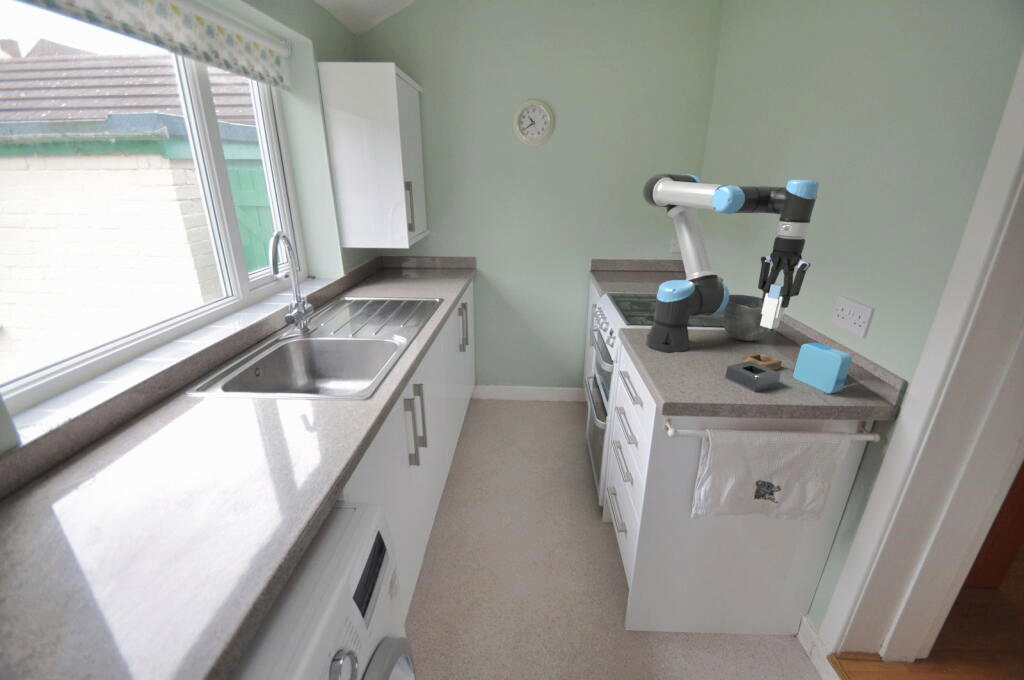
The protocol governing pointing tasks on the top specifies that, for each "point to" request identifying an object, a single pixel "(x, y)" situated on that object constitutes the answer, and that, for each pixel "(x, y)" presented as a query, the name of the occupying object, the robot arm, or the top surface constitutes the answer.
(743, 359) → the frame
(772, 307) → the plug
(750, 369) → the port
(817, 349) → the data package
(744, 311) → the grey metal pot
